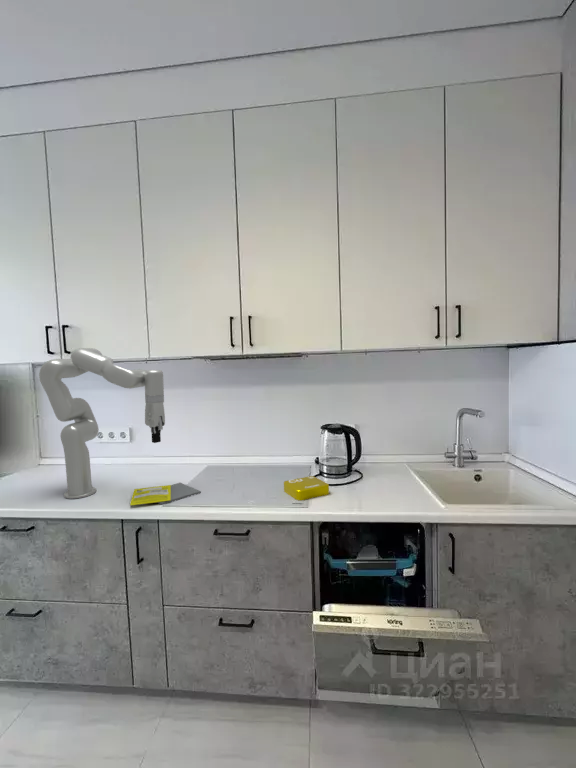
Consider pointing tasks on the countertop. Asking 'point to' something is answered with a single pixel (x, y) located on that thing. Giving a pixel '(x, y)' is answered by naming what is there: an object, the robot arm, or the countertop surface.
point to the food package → (151, 495)
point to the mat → (180, 492)
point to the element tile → (306, 488)
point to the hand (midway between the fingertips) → (156, 442)
